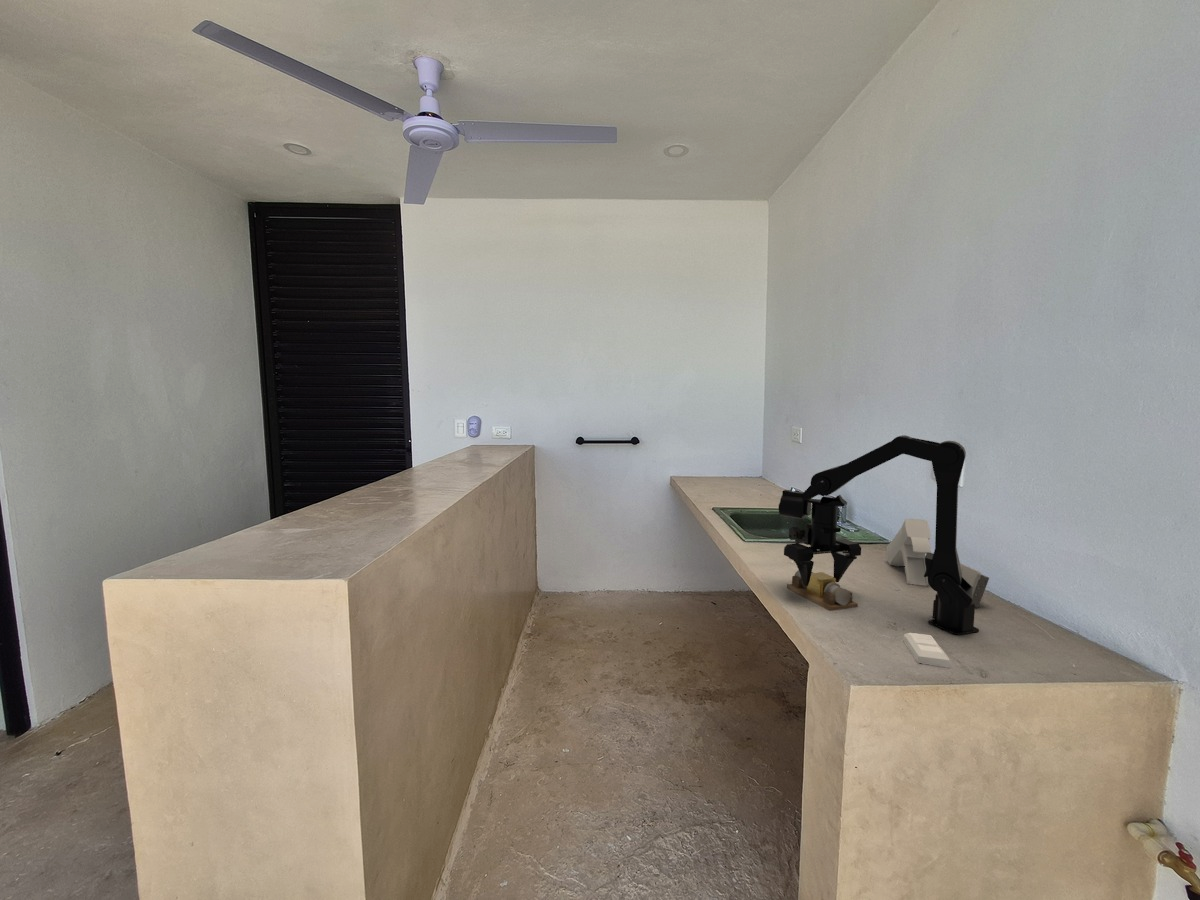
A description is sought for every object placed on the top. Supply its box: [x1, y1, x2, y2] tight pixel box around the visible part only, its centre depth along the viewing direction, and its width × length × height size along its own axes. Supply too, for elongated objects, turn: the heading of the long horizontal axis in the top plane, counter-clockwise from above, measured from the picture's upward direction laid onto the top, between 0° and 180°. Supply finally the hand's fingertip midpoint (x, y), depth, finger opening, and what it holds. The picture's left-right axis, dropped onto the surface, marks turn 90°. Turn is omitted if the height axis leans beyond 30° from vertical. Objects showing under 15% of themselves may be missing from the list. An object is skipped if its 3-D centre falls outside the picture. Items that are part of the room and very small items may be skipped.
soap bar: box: [903, 632, 951, 669], centre depth 92 cm, size 5×9×3 cm, turn 162°
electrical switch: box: [960, 562, 990, 609], centre depth 117 cm, size 9×5×9 cm, turn 0°
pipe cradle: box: [786, 569, 858, 611], centre depth 119 cm, size 15×8×5 cm, turn 17°
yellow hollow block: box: [807, 571, 837, 598], centre depth 119 cm, size 5×4×4 cm
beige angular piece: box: [886, 518, 932, 587], centre depth 134 cm, size 6×16×20 cm
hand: (821, 583), depth 119 cm, fingers open, 9 cm apart
